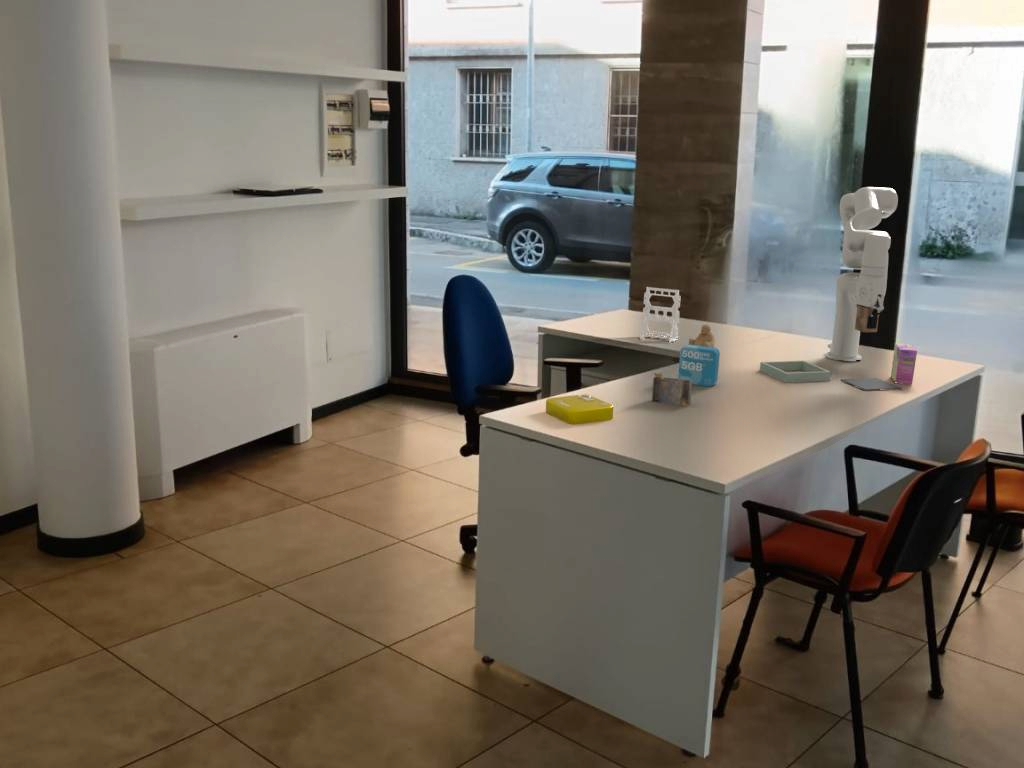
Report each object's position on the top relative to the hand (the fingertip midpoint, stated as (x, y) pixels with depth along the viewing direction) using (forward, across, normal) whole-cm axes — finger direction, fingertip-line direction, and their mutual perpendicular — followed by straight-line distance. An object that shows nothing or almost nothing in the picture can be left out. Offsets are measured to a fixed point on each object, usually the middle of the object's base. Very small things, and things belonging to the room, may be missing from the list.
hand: (866, 326), depth 346 cm
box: (+20, -2, +18) cm, 27 cm away
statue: (+20, -41, -38) cm, 60 cm away
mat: (+19, +2, +3) cm, 20 cm away
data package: (+20, -8, -56) cm, 59 cm away
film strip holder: (+20, -77, -39) cm, 88 cm away
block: (+2, 0, 0) cm, 2 cm away
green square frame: (+19, -13, -17) cm, 29 cm away
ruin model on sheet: (+20, +14, -74) cm, 78 cm away
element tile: (+20, +24, -107) cm, 111 cm away
